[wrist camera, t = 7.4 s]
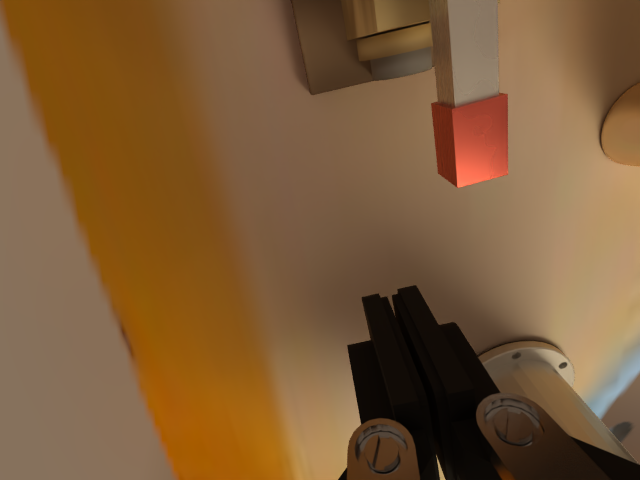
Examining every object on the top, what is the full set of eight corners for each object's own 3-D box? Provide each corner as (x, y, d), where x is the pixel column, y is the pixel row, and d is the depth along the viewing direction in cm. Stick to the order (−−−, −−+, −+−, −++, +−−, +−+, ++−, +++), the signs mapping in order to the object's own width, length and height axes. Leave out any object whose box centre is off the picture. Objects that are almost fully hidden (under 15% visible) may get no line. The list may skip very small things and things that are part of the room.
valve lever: (393, -107, 12) (430, -161, 9) (470, -129, 12) (531, -191, 9) (425, 170, 16) (456, 195, 13) (481, 155, 16) (524, 176, 13)
